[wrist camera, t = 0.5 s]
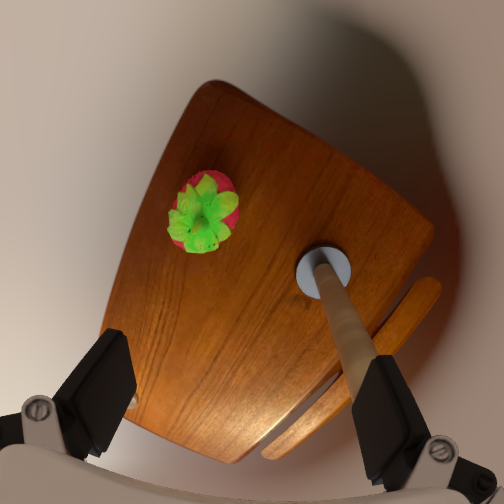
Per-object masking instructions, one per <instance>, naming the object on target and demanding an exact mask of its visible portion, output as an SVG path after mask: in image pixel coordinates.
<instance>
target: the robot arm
mask: <svg viewBox="0 0 504 504" xmlns="http://www.w3.org/2000/svg"><path fill="white" fill-rule="evenodd" d="M136 389H137V383H136V379H135V375H134V370H133V366H132V361H131V356H130V351H129V346H128V341H127V337H126V336H125V335H123V332H122V331H120V330H115V329H110V328H108V329H106V330H105V332H104V333H103V334H102V335H101V336H100V338H99V339H98V340H97V341H96V343H95V344H94V345H93V346H92V348H91V349H90V350H89V351H88V353H87V354H86V355H85V356H84V358H83V359H82V360H81V361H80V363H79V364H78V365H77V366H76V368H75V369H74V370H73V371H72V373H71V374H70V376H69V377H68V378H67V379H66V381H65V382H64V383H63V384H62V386H61V387H60V388H59V390H58V391H57V392H56V394H55V395H54V396H53V398H52V399H51V398H49V397H47V396H44V395H36V396H32V397H30V398H29V399H27V400H26V401H25V402H24V404H23V406H22V411H21V412H20V413H16V414H11V415H6V416H1V417H0V504H504V488H503V487H502V486H500V487H499V488H498V487H497V480H496V477H495V474H494V473H493V472H492V471H490V470H489V469H487V468H484V467H482V466H479V465H477V464H475V463H472V462H470V461H468V460H466V459H463V458H461V457H459V456H458V453H459V451H458V446H457V445H456V443H455V442H454V441H453V440H452V439H451V438H449V437H448V436H444V435H436V436H433V437H431V434H430V432H429V430H428V428H427V425H426V423H425V421H424V418H423V416H422V414H421V412H420V410H419V408H418V406H417V403H416V402H415V399H414V397H413V395H412V393H411V391H410V389H409V388H408V386H407V384H406V382H405V380H404V378H403V376H402V374H401V372H400V370H399V368H398V366H397V364H396V362H395V360H394V358H393V357H392V355H377V356H376V357H375V359H372V360H371V362H370V364H369V367H368V370H367V372H366V375H365V377H364V380H363V382H362V384H361V387H360V389H359V391H358V394H357V396H356V398H355V401H354V403H353V406H352V415H353V419H354V423H355V427H356V431H357V436H358V440H359V444H360V448H361V453H362V457H363V461H364V466H365V471H366V475H367V478H368V479H369V480H371V481H372V485H373V486H374V485H380V484H384V488H385V491H384V492H383V493H381V494H375V495H368V496H362V497H353V498H345V499H334V500H320V501H294V502H293V501H292V502H291V501H289V502H287V501H254V500H242V499H231V498H223V497H214V496H208V495H202V494H196V493H190V492H185V491H180V490H175V489H171V488H166V487H162V486H158V485H154V484H150V483H147V482H143V481H140V480H136V479H133V478H130V477H126V476H123V475H120V474H117V473H114V472H111V471H108V470H106V469H103V468H100V467H97V466H95V465H92V464H89V463H87V461H86V458H87V456H88V454H91V455H93V456H96V457H98V458H99V457H100V455H101V453H102V452H106V451H107V449H108V447H109V445H110V443H111V441H112V438H113V436H114V434H115V432H116V430H117V428H118V426H119V424H120V422H121V420H122V418H123V416H124V414H125V412H126V410H127V408H128V406H129V404H130V402H131V400H132V398H133V396H134V394H135V392H136Z"/></svg>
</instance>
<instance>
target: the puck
mask: <svg viewBox="0 0 504 504" xmlns="http://www.w3.org/2000/svg"><path fill="white" fill-rule="evenodd" d="M137 404H138V397H137V395H136V394H134V396H133V398H132V400H131V402H130V404H129V406H128V408H127V409H133V408H135V407H136V406H137Z"/></svg>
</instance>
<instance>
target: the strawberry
mask: <svg viewBox="0 0 504 504" xmlns="http://www.w3.org/2000/svg"><path fill="white" fill-rule="evenodd" d="M239 202H240V201H239V197H238V195H237V193H236V190H235V187H234V184H232V182H231V179H229V178H228V177H227V176H225V174H224V173H221V172H218V171H217V170H210V169H209V170H206V171H199V172H198V174H196V175H192V179H190V178H188V181H187V183H184V185H183V188H182V190H179V192H178V195H177V199H176V200H175V201H174V203H173V205H174V206H173V207H172V210H170V212H168V213H169V221H168V222H169V226H168V227H167V230H168V232H169V234H170V236H171V240H173V242H174V243H175V245H178V246H179V247H181V248H182V249H186V252H191V253H205V252H210V251H214V250H215V249H217V248H218V247H219V244H220V243H222V241H223V240H226V239H227V238H228V237H229V236H230V235H231V232H232V229H233V228H234V227H235V225H236V223H237V220H238V219H239V212H240V208H239Z"/></svg>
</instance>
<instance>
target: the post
mask: <svg viewBox="0 0 504 504" xmlns="http://www.w3.org/2000/svg"><path fill="white" fill-rule="evenodd" d="M295 276H296V281H297V284H298V286H299V288H300V289H301V290H302V291H303V293H305V294H306V295H308V296H310V297H312V298H315V299H321V302H322V305H323V308H324V311H325V314H326V317H327V320H328V323H329V326H330V329H331V332H332V335H333V338H334V342H335V345H336V348H337V351H338V355H339V358H340V361H341V364H342V368H343V371H344V374H345V378H346V381H347V385H348V388H349V392H350V395H351V399H352V402H353V403H354V401H355V398H356V396H357V394H358V391H359V389H360V387H361V384H362V382H363V380H364V377H365V375H366V372H367V370H368V367H369V364H370V362H371V360H372V359H375V357H376V356H377V355H378V353H377V351H376V349H375V347H374V344H373V342H372V340H371V338H370V336H369V334H368V332H367V330H366V328H365V326H364V324H363V322H362V320H361V318H360V316H359V315H358V313H357V311H356V309H355V307H354V305H353V303H352V301H351V299H350V297H349V295H348V293H347V292H346V290H345V287H346V285H347V284H348V282H349V280H350V276H351V266H350V262H349V260H348V258H347V257H346V255H345V254H344V253H343V251H341V250H340V249H339V248H337V247H335V246H333V245H329V244H319V245H315V246H312V247H310V248H309V249H307V250H306V251H305V252H303V254H302V255H301V256H300V257H299V259H298V261H297V264H296V267H295Z"/></svg>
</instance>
